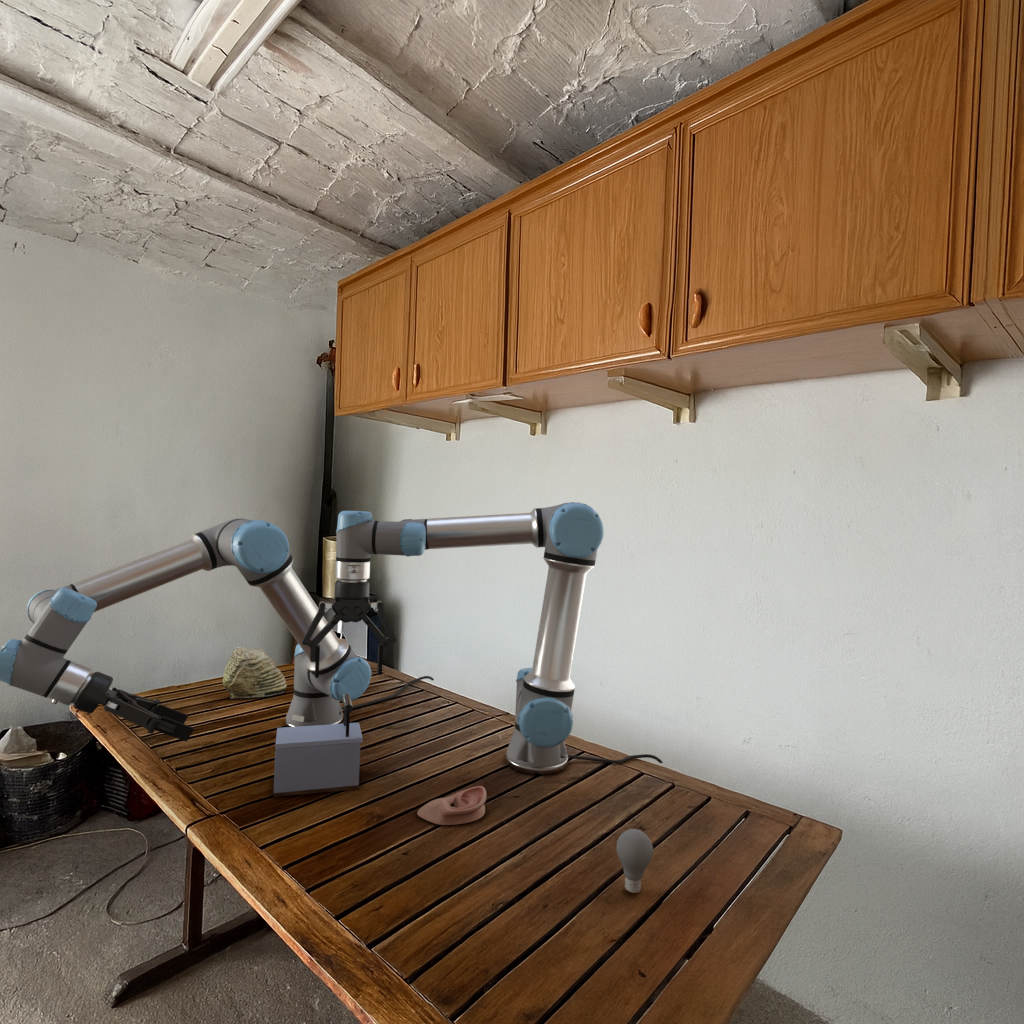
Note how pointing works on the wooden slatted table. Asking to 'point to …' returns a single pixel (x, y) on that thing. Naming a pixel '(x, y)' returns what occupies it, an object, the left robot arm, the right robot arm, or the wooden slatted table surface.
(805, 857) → the wooden slatted table surface
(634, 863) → the light bulb
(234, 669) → the fossil
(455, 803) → the anatomical model
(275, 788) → the chest
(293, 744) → the lid
